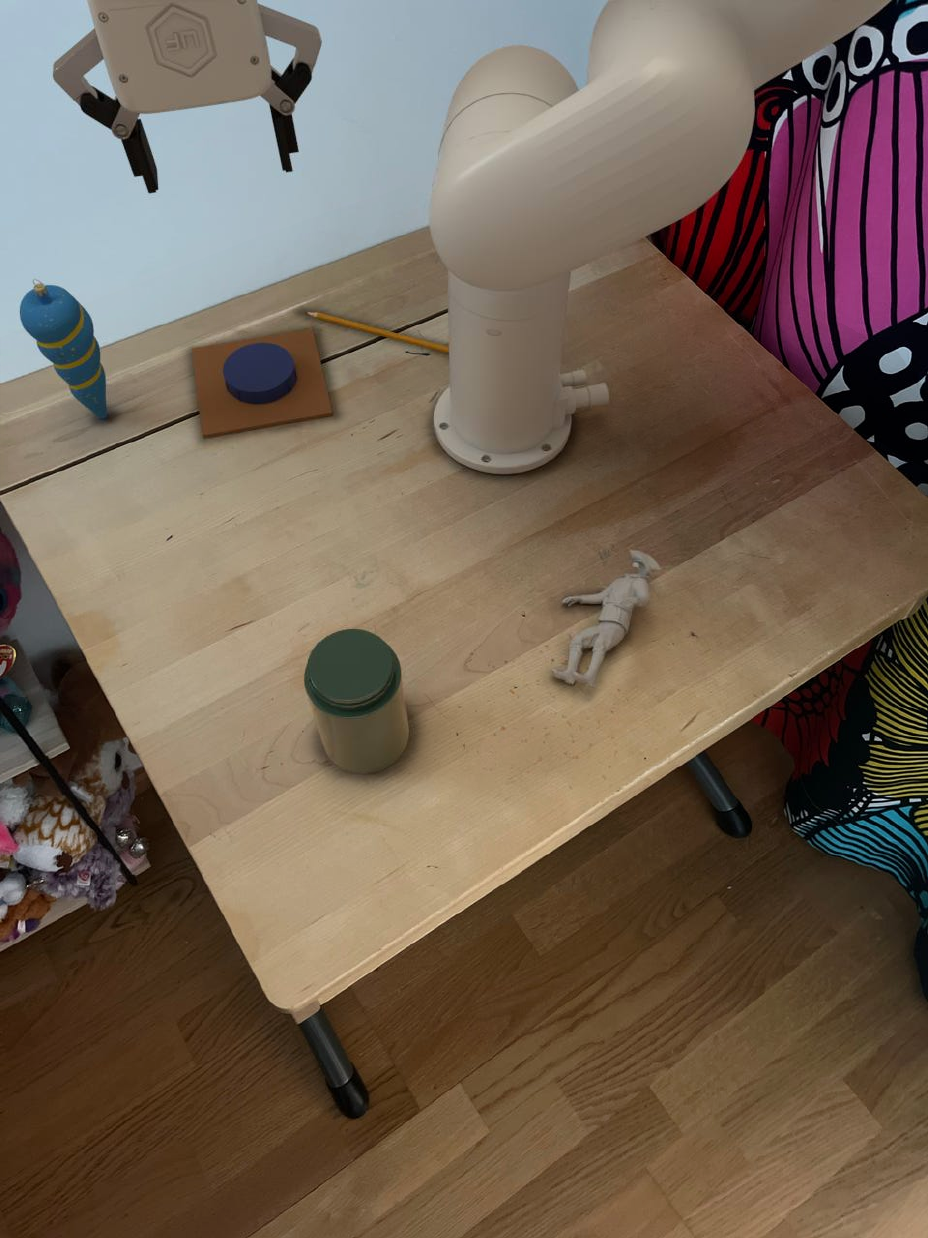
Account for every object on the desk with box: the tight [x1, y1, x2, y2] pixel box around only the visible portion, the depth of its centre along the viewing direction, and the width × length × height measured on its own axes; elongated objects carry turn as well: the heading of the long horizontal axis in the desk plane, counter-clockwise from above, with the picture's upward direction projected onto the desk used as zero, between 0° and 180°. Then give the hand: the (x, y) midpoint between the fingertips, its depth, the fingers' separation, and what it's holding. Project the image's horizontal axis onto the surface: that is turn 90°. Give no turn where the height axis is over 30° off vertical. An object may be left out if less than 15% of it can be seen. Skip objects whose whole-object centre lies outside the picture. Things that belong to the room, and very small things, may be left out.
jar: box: [303, 628, 410, 775], centre depth 63 cm, size 6×6×10 cm
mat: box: [191, 328, 333, 439], centre depth 87 cm, size 12×12×1 cm
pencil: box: [304, 311, 449, 355], centre depth 91 cm, size 19×1×1 cm, turn 69°
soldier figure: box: [550, 549, 662, 689], centre depth 71 cm, size 8×5×12 cm
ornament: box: [19, 278, 108, 420], centre depth 79 cm, size 5×5×15 cm
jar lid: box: [223, 343, 297, 404], centre depth 87 cm, size 7×7×2 cm
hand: (220, 171), depth 66 cm, fingers open, 9 cm apart
